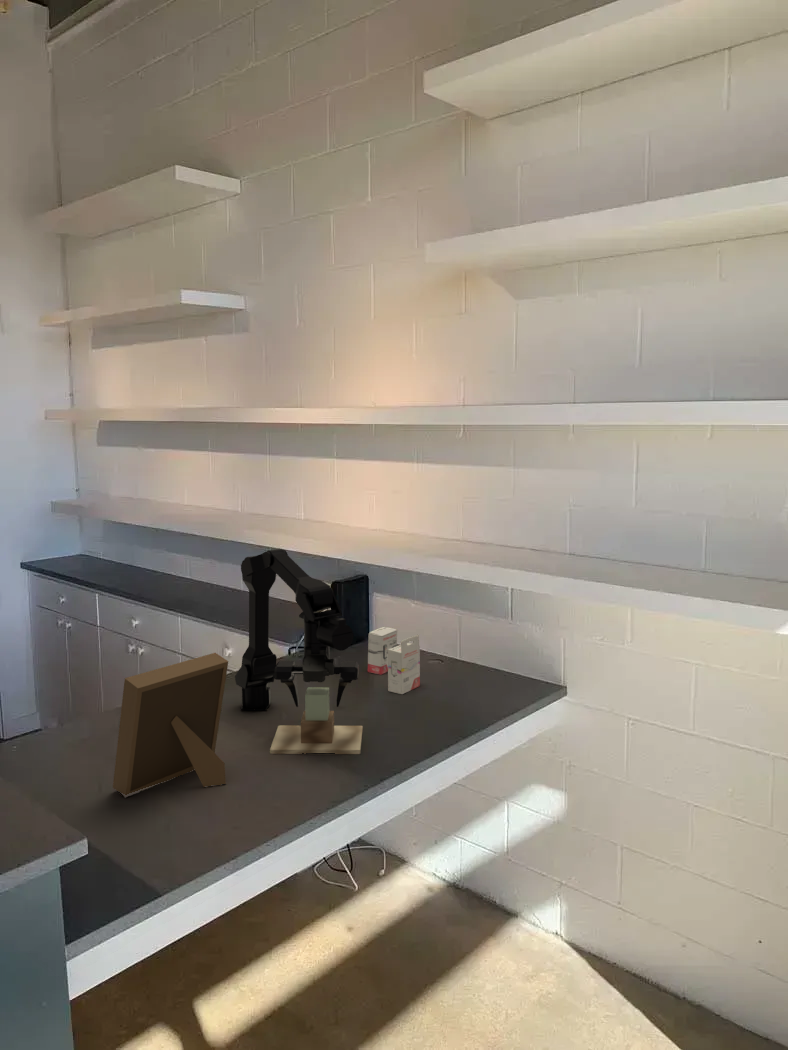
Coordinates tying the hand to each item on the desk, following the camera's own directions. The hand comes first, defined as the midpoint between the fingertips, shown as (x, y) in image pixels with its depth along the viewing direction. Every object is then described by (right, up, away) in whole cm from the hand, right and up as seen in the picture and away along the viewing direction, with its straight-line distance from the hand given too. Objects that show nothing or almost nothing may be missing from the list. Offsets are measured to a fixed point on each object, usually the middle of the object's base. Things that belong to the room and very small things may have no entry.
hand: (317, 706), depth 194 cm
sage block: (0, -2, 0) cm, 2 cm away
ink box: (+14, -1, +53) cm, 55 cm away
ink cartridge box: (+20, -3, +37) cm, 42 cm away
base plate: (0, -8, +1) cm, 8 cm away
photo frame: (-26, -12, -20) cm, 35 cm away
